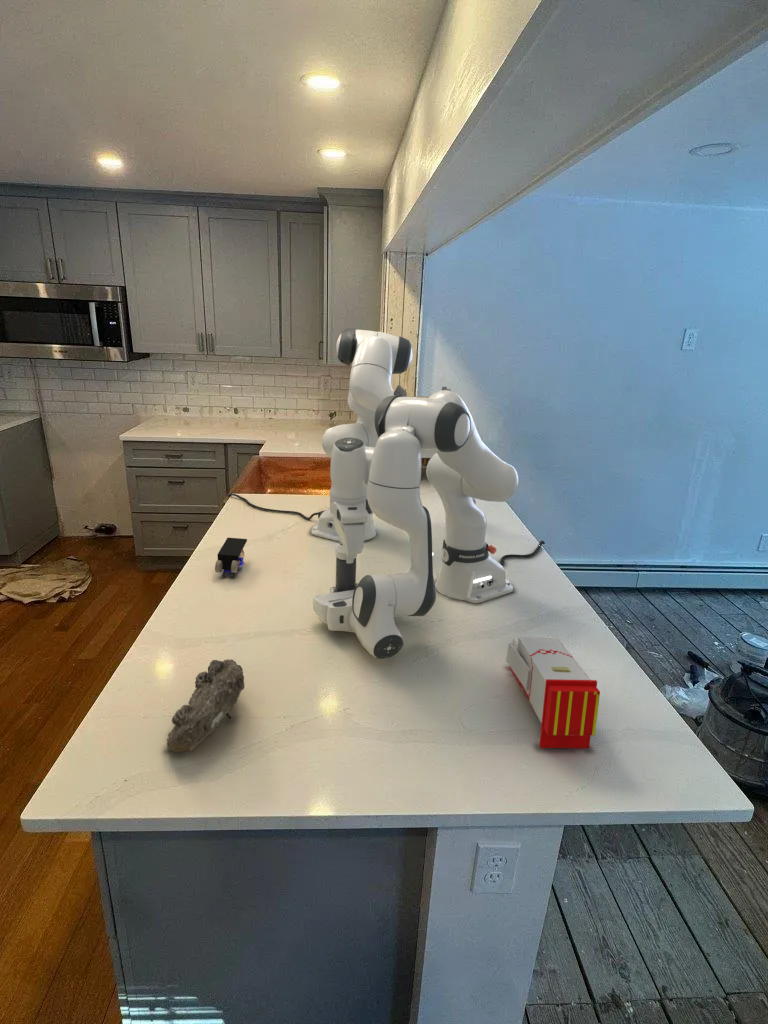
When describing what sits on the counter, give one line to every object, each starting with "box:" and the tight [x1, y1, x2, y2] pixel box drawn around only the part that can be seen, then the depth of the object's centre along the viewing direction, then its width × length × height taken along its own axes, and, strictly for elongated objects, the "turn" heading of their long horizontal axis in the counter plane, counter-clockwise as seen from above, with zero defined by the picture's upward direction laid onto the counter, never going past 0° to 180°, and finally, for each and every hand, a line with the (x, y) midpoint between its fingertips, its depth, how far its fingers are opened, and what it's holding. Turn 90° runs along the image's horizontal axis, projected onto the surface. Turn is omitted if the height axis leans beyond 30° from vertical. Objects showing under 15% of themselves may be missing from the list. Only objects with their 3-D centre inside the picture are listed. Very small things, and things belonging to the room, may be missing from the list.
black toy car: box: [214, 537, 248, 578], centre depth 166 cm, size 7×8×15 cm
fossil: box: [166, 658, 245, 754], centre depth 106 cm, size 22×10×15 cm
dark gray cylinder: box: [335, 556, 357, 592], centre depth 147 cm, size 5×5×16 cm
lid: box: [335, 544, 358, 560], centre depth 144 cm, size 6×6×2 cm
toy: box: [505, 636, 601, 749], centre depth 115 cm, size 12×13×30 cm
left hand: (346, 556), depth 144 cm, fingers open, 6 cm apart
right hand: (344, 587), depth 148 cm, fingers closed on dark gray cylinder, 5 cm apart
